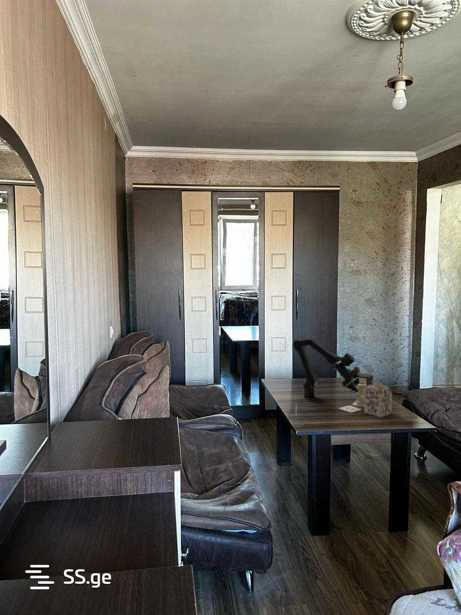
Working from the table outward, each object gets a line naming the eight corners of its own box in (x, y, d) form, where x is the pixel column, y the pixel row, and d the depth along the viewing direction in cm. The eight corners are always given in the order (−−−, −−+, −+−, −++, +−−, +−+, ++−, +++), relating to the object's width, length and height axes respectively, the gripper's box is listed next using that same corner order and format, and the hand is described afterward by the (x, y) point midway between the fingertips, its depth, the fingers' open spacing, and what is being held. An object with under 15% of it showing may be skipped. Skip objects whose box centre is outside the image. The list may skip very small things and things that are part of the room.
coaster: (351, 405, 282) (351, 404, 282) (356, 401, 290) (356, 401, 290) (366, 407, 277) (366, 406, 277) (370, 403, 285) (370, 403, 285)
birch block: (356, 404, 283) (356, 385, 282) (358, 402, 287) (358, 383, 286) (364, 405, 280) (364, 386, 279) (366, 403, 284) (366, 384, 283)
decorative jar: (363, 412, 267) (363, 382, 265) (374, 409, 274) (375, 379, 272) (380, 417, 257) (381, 386, 256) (392, 413, 264) (393, 383, 263)
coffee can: (372, 394, 308) (372, 373, 307) (373, 398, 298) (374, 377, 297) (356, 393, 310) (356, 373, 309) (357, 397, 300) (357, 376, 299)
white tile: (338, 408, 275) (338, 408, 275) (349, 406, 280) (349, 405, 280) (351, 412, 266) (351, 412, 266) (362, 409, 272) (362, 409, 272)
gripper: (347, 365, 277) (365, 385, 272) (356, 360, 293) (373, 379, 288) (334, 376, 282) (351, 396, 277) (344, 371, 298) (360, 390, 293)
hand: (360, 390), depth 283 cm, fingers open, 9 cm apart
